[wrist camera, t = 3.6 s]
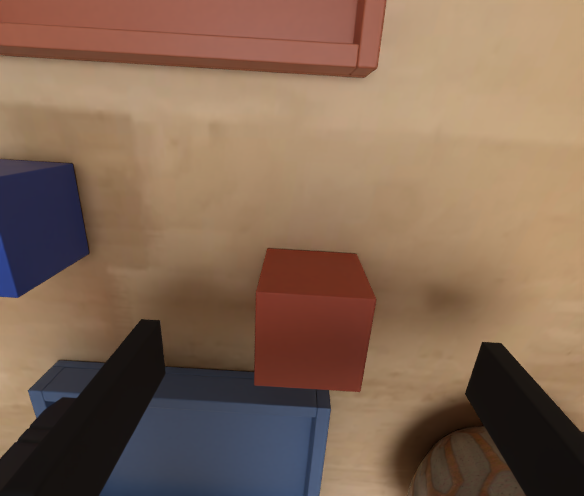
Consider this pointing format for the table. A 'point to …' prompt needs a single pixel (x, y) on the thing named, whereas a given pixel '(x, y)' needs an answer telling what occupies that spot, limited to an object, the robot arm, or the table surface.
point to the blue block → (38, 223)
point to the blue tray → (210, 434)
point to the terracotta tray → (201, 33)
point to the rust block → (312, 320)
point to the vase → (464, 468)
